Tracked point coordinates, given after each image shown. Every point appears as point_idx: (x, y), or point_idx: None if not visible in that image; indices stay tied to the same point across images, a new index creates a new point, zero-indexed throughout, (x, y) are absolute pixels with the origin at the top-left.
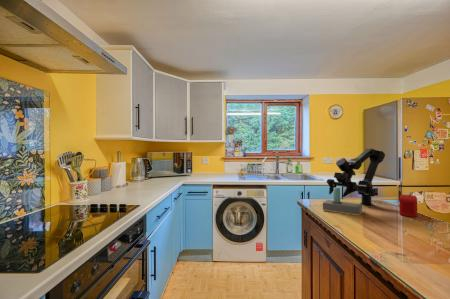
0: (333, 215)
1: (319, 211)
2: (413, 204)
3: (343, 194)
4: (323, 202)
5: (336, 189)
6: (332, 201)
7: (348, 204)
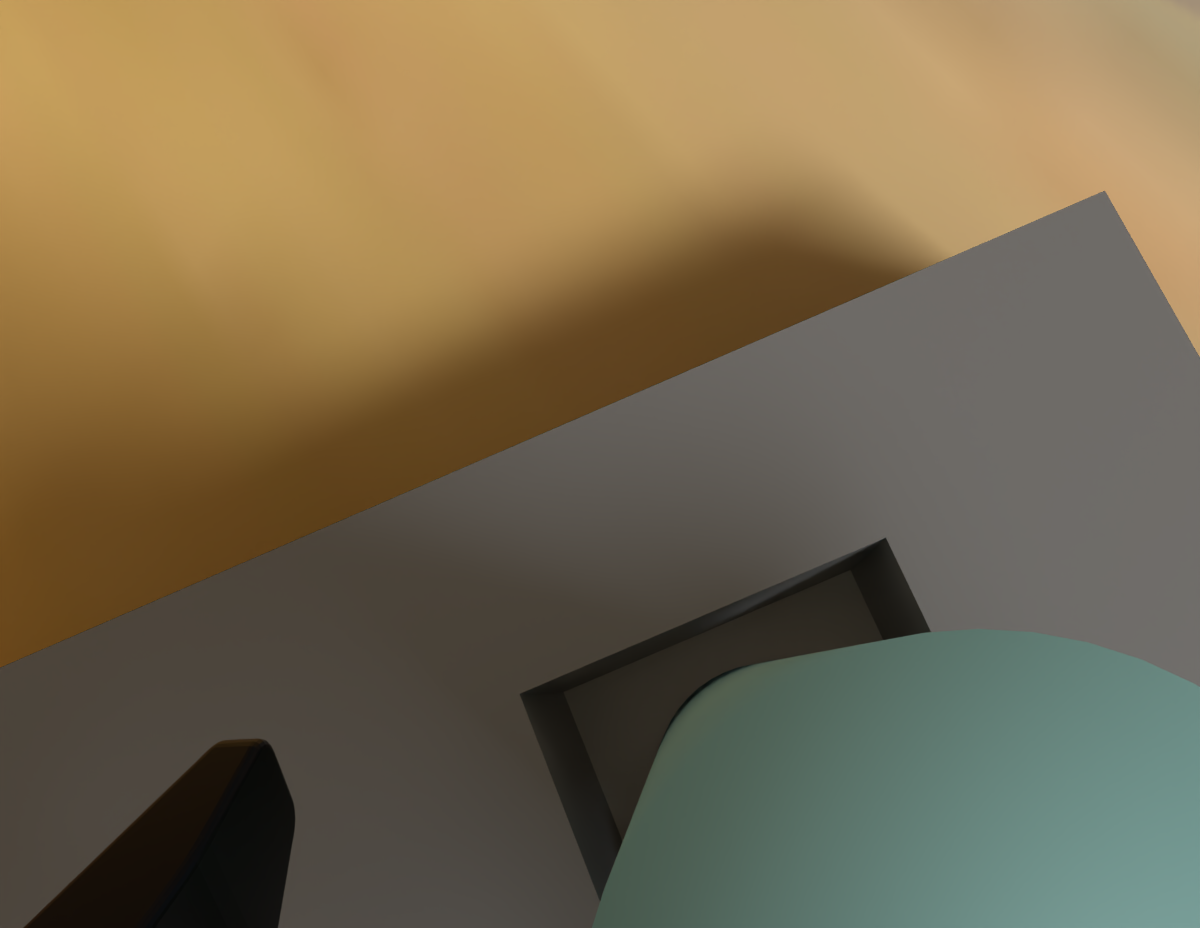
0: (397, 90)
1: (930, 69)
2: None
3: (201, 816)
4: (1132, 259)
5: (752, 698)
6: None
7: None
